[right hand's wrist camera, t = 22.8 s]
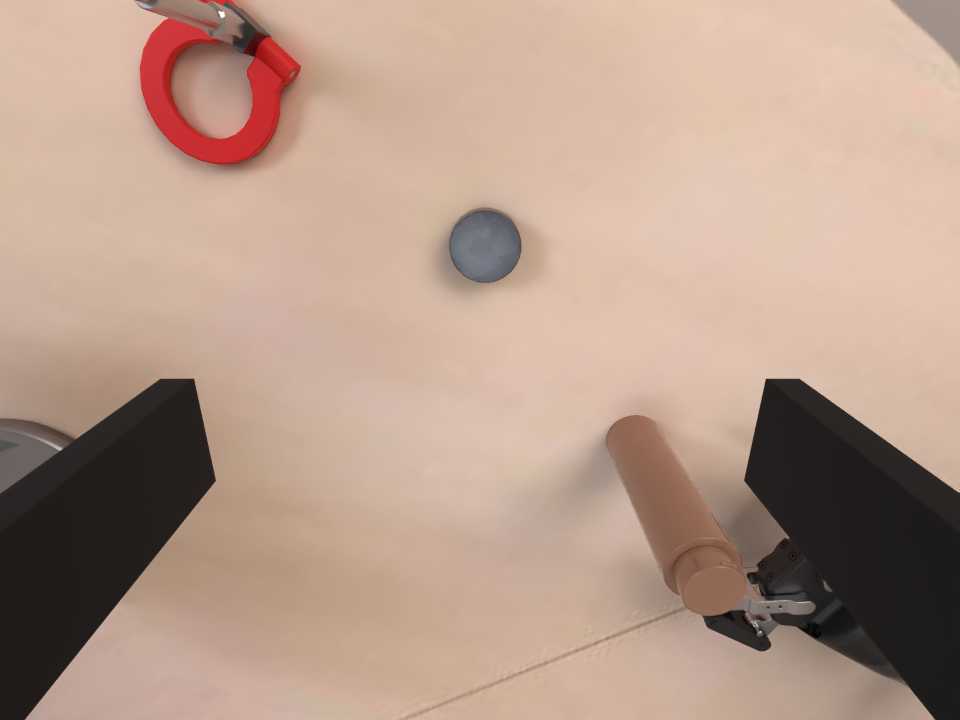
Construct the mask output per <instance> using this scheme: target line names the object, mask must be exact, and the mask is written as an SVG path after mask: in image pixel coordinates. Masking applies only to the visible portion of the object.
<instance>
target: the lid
mask: <svg viewBox="0 0 960 720" xmlns="http://www.w3.org/2000/svg"><path fill="white" fill-rule="evenodd" d="M520 253H521V239H520V235H519V233H518V230H517V228H516V226H515V224H514V223H513V221H512V220H511V219H510V218H509V217H508V216H507V215H506V214H504V213H503V212H501V211H499V210H496V209H493V208H478V209H474V210H472V211H470V212H468V213H466V214H465V215H464V216H462V217H461V218H460V220H459V221H458V222H457V224H456V225H455V227H454V229H453V232H452V235H451V239H450V254H451V258H452V261H453V263H454V265H455V266H456V268H457V269H458V270H459V271H460V272H461V273H462V274H463V275H464V276H466V277H467V278H469V279H471V280H474V281H477V282H494V281H497V280H499V279H502V278H503V277H505V276H506V275H508V274H509V273H510V272H511V271H512V270H513V269H514V267H515V266H516V264H517V262H518V260H519V257H520Z"/></svg>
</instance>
